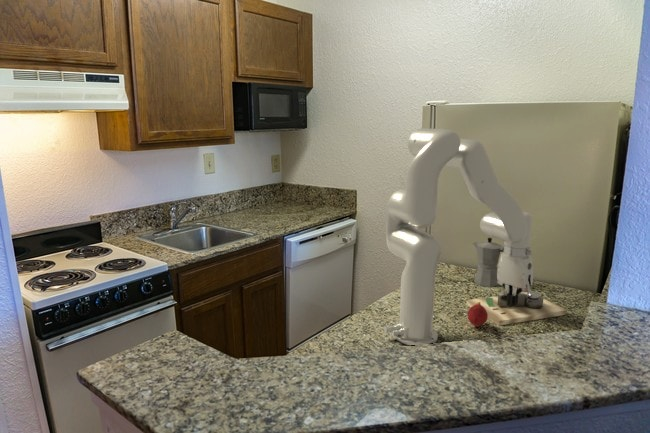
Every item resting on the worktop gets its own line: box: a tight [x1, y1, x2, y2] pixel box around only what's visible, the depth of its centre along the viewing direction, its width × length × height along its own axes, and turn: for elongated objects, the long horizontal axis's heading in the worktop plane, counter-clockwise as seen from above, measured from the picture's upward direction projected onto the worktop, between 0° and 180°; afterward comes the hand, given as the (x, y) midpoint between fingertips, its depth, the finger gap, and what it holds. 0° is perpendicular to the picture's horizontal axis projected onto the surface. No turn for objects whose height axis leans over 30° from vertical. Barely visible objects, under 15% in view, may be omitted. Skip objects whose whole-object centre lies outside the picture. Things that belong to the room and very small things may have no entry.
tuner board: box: [466, 292, 568, 326], centre depth 155 cm, size 26×17×2 cm, turn 108°
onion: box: [467, 302, 488, 328], centre depth 141 cm, size 6×6×8 cm
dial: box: [497, 290, 545, 309], centre depth 153 cm, size 15×6×4 cm, turn 94°
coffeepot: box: [472, 237, 504, 288], centre depth 176 cm, size 15×9×18 cm, turn 43°
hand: (511, 304), depth 150 cm, fingers closed
